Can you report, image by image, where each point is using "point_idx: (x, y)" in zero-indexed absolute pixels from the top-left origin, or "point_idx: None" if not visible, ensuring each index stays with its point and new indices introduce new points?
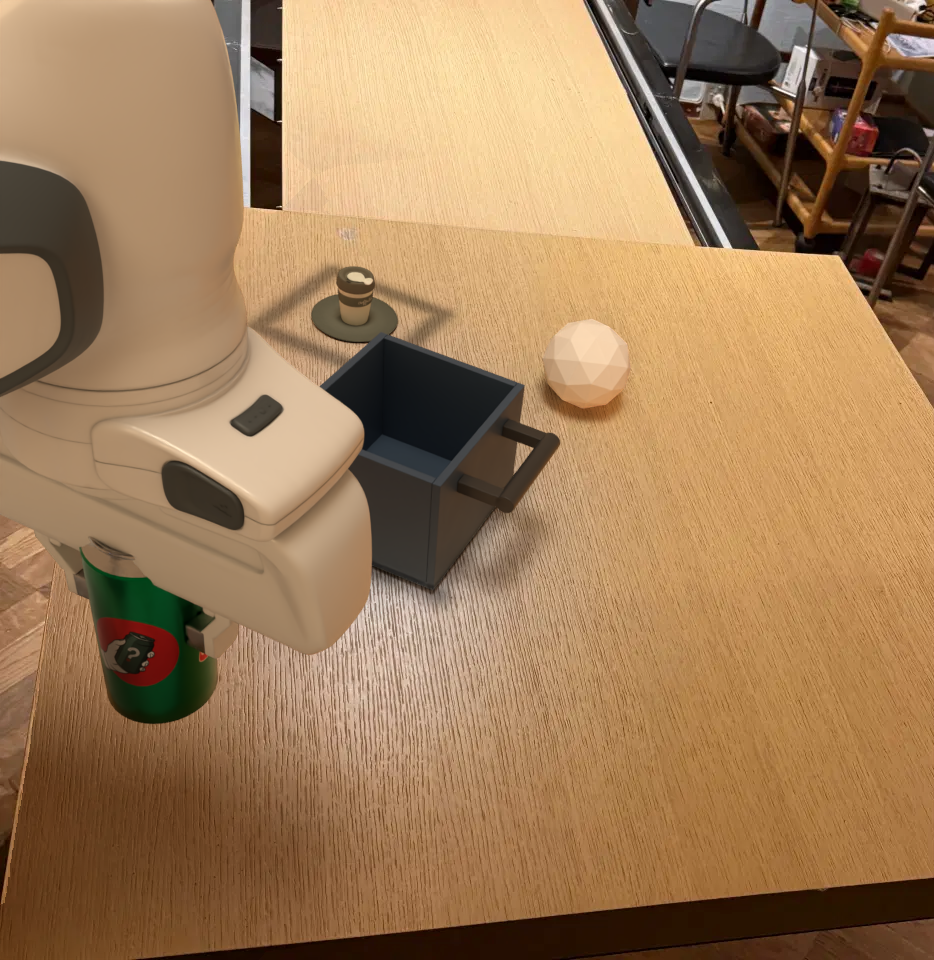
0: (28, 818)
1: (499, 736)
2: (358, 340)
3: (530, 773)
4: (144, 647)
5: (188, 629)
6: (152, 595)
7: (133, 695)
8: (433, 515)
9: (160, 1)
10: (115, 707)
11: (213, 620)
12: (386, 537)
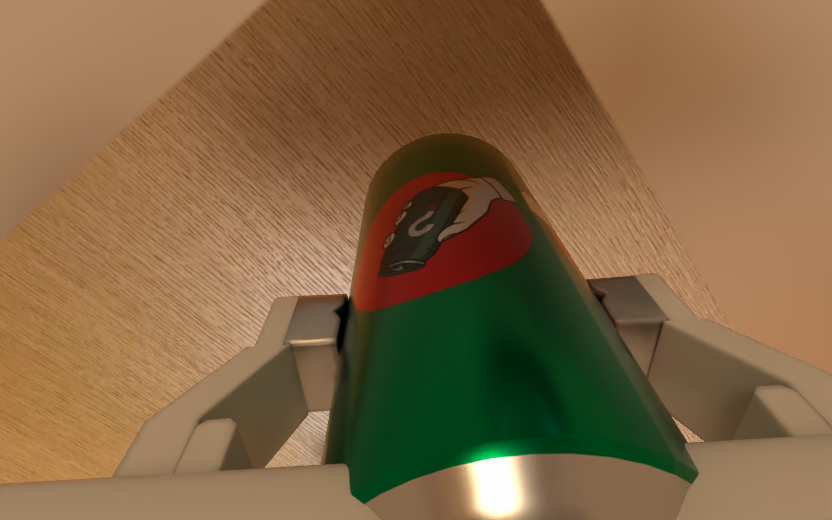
0: (547, 15)
1: (211, 329)
2: None
3: (158, 314)
4: (399, 248)
5: (329, 334)
6: (360, 415)
7: (428, 161)
8: None
9: None
10: (469, 138)
11: (210, 408)
12: None
